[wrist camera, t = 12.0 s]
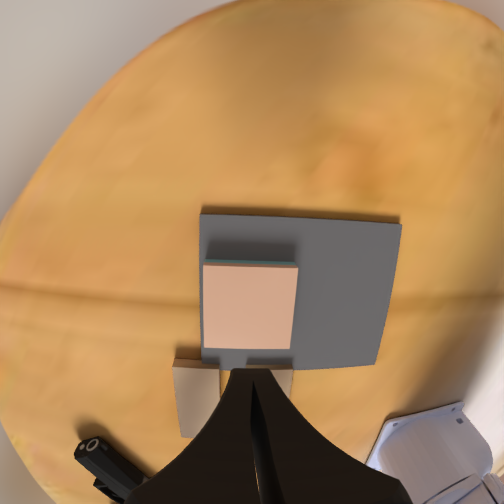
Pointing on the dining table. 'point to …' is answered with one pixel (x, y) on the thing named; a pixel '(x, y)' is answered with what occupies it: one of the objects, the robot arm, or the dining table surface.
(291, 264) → the tile
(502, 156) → the dining table surface
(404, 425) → the robot arm
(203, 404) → the tile rack
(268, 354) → the mat
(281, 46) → the dining table surface
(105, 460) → the handgun
